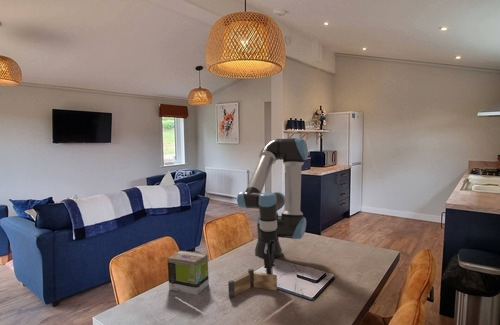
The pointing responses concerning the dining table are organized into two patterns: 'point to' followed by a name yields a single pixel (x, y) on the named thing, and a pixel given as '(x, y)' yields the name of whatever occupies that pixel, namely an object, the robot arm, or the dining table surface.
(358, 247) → the dining table surface
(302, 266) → the dining table surface
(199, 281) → the tea box
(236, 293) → the fixed fence panel
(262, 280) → the swing panel
